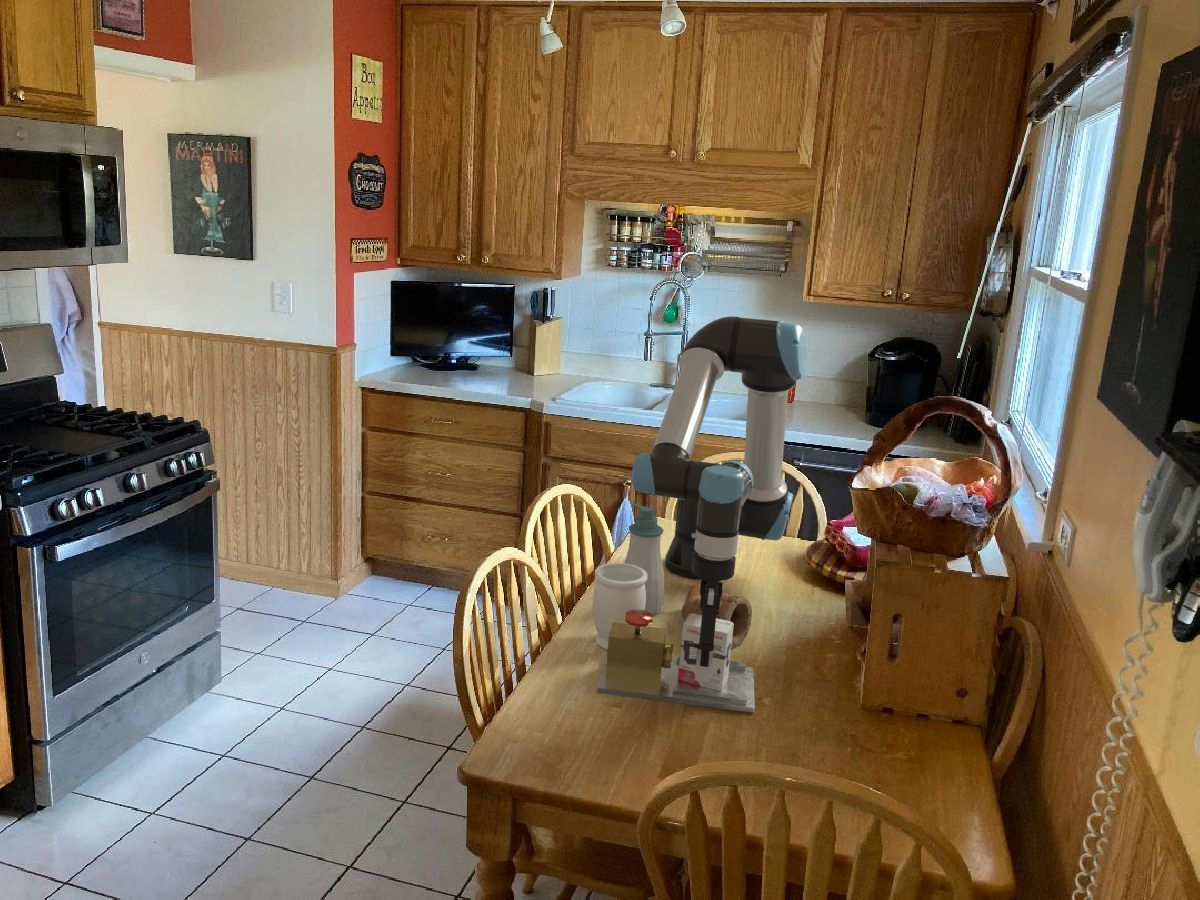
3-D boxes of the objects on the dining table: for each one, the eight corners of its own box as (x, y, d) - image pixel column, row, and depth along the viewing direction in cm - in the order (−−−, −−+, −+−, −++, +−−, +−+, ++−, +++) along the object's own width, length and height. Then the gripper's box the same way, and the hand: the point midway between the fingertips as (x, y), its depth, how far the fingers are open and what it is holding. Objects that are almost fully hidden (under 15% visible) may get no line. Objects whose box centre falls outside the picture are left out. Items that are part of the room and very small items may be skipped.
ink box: (676, 681, 172) (682, 622, 169) (684, 669, 177) (689, 611, 174) (721, 692, 170) (728, 632, 166) (728, 680, 174) (734, 621, 171)
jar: (607, 625, 195) (612, 558, 191) (651, 640, 190) (657, 570, 186) (580, 644, 186) (584, 574, 182) (625, 659, 181) (631, 587, 177)
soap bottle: (638, 595, 211) (646, 498, 205) (671, 610, 204) (680, 511, 198) (607, 607, 204) (614, 507, 198) (640, 622, 198) (649, 520, 192)
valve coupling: (607, 654, 183) (611, 595, 180) (752, 672, 180) (759, 612, 177) (596, 692, 169) (600, 629, 166) (754, 712, 165) (761, 648, 162)
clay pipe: (679, 662, 189) (753, 654, 185) (667, 614, 187) (741, 605, 183) (694, 622, 207) (761, 613, 202) (683, 577, 205) (751, 567, 200)
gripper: (696, 528, 179) (686, 631, 185) (690, 577, 156) (679, 693, 161) (736, 532, 178) (725, 636, 184) (735, 582, 155) (723, 699, 160)
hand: (703, 663), depth 173 cm, fingers open, 12 cm apart
